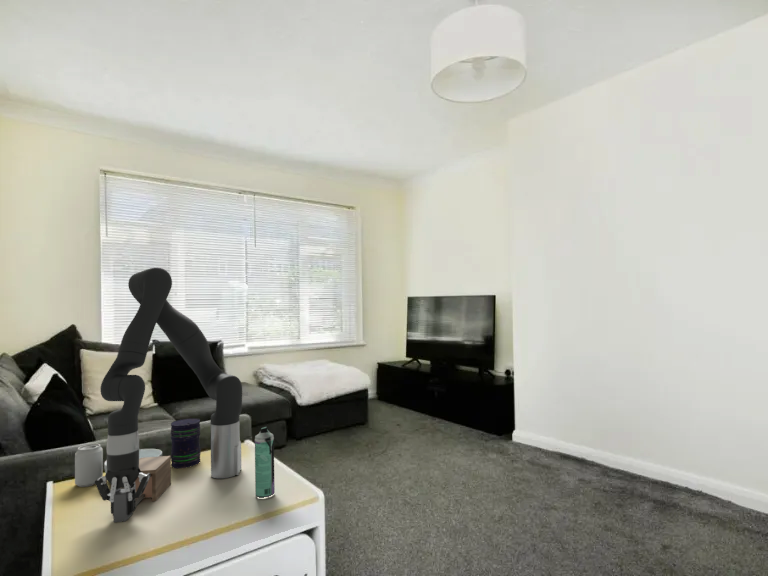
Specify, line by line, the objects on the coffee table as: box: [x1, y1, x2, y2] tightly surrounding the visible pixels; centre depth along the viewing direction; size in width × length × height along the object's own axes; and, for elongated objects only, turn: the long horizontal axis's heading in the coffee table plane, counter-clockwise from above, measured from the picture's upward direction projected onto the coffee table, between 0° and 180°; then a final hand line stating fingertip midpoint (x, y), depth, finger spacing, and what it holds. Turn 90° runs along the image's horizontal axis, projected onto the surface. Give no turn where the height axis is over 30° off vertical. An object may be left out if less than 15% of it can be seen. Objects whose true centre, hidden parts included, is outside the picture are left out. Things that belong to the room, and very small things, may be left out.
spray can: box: [254, 426, 276, 498], centre depth 128 cm, size 6×6×20 cm
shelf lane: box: [122, 455, 172, 502], centre depth 132 cm, size 9×12×9 cm
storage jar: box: [170, 417, 201, 469], centre depth 157 cm, size 10×10×15 cm
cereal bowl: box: [103, 448, 163, 474], centre depth 144 cm, size 17×17×7 cm
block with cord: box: [113, 474, 152, 523], centre depth 124 cm, size 5×20×7 cm, turn 7°
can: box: [74, 443, 104, 488], centre depth 141 cm, size 8×8×12 cm
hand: (123, 513), depth 116 cm, fingers closed on block with cord, 3 cm apart
